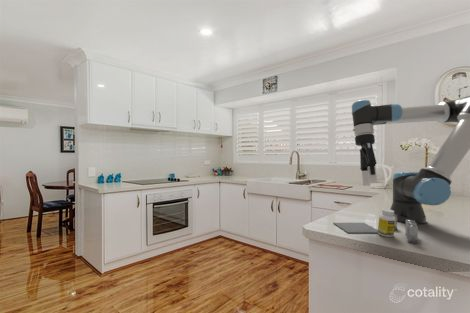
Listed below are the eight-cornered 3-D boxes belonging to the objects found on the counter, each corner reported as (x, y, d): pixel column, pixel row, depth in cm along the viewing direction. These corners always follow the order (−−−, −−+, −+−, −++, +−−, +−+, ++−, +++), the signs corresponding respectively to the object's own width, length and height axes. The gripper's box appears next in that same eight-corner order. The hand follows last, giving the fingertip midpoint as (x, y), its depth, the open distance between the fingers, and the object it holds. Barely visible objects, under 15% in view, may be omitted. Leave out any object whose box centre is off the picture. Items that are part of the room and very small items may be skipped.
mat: (363, 223, 114) (363, 222, 114) (382, 233, 100) (382, 232, 100) (333, 223, 114) (333, 222, 114) (348, 233, 100) (348, 232, 100)
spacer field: (395, 227, 109) (395, 213, 108) (432, 243, 89) (432, 227, 89) (377, 227, 108) (378, 213, 108) (411, 244, 89) (411, 227, 88)
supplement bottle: (387, 238, 95) (390, 213, 93) (374, 232, 99) (376, 208, 98) (397, 236, 97) (399, 211, 96) (383, 230, 102) (386, 207, 100)
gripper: (351, 142, 122) (355, 186, 118) (359, 128, 98) (365, 182, 94) (368, 141, 119) (373, 185, 116) (380, 126, 96) (387, 181, 92)
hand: (369, 184), depth 105 cm, fingers open, 13 cm apart
